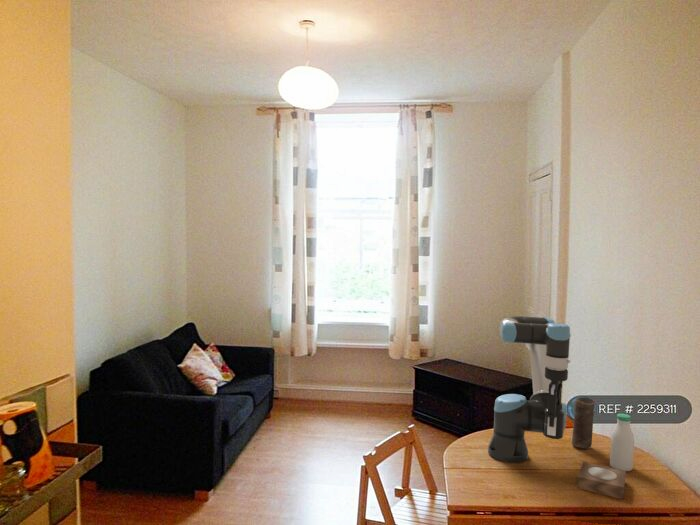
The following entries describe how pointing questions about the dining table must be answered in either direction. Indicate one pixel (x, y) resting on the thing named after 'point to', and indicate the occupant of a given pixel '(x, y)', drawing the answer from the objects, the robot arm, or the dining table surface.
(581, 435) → the brown cylinder
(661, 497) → the dining table surface
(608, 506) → the dining table surface
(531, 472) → the dining table surface
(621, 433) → the milk bottle
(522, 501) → the dining table surface
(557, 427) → the supplement bottle
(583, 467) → the walnut plinth
